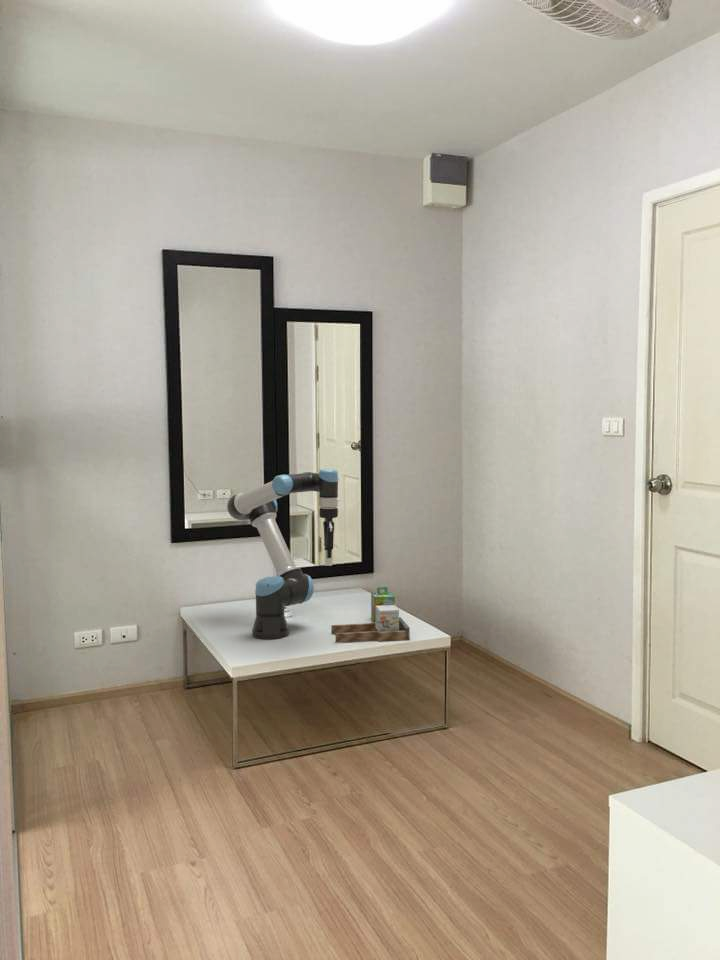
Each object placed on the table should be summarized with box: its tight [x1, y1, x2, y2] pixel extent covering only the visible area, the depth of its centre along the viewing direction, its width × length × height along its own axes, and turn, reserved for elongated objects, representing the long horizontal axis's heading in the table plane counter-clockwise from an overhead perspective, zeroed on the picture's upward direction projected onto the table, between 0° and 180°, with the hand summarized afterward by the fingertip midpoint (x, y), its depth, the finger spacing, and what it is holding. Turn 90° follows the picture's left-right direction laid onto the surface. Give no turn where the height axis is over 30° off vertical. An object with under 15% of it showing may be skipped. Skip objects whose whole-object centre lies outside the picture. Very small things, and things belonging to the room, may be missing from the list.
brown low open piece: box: [330, 616, 411, 644], centre depth 335 cm, size 30×17×5 cm, turn 100°
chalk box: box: [370, 586, 395, 622], centre depth 359 cm, size 9×9×15 cm
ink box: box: [375, 604, 400, 632], centre depth 336 cm, size 9×9×12 cm
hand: (328, 565), depth 330 cm, fingers closed
